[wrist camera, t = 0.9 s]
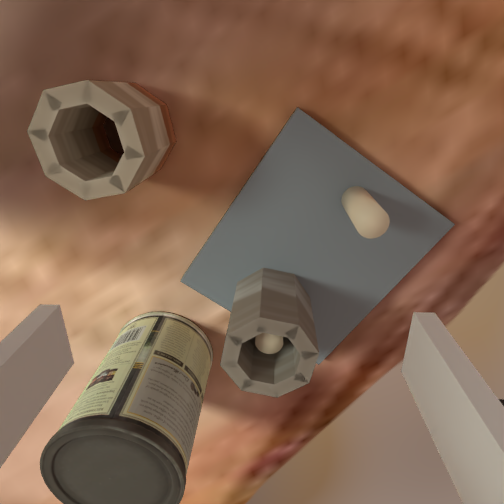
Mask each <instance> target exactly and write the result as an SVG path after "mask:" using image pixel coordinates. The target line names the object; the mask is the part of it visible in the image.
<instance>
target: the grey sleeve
mask: <svg viewBox="0 0 504 504" xmlns="http://www.w3.org/2000/svg"><path fill="white" fill-rule="evenodd" d="M261 333H267V334H272V335H277V336H282V337H283V347H282V348H281V350H280V351H278V352H277V353H274V354H266V353H263V352H261V351H260V350H258V348H257V347H256V344H255V338H256V336H257V335H259V334H261ZM318 356H319V349H318V343H317V337H316V331H315V325H314V319H313V313H312V307H311V301H310V297H309V295H308V294H307V292H306V291H305V289H304V288H303V286H302V285H301V283H300V282H299V280H298V279H297V278H296V276H295V275H294V274H292V273H287V272H283V271H278V270H273V269H268V268H264V267H263V268H261V269H260V270H258V271H256V272H254V273H253V274H251V275H249V276H247V277H246V278H244V279H242V280H240V281H238V282H237V286H236V291H235V295H234V300H233V305H232V310H231V314H230V319H229V324H228V329H227V334H226V339H225V344H224V349H223V354H222V358H221V363H220V366H221V367H222V368H223V369H224V370H225V372H226V373H227V374H228V375H229V376H230V378H231V379H232V380H233V381H234V382H235V384H236V385H237V386H238V387H239V388H240V389H241V390H242V391H247V392H252V393H257V394H262V395H267V396H272V397H280V396H282V395H284V394H286V393H288V392H291V391H293V390H295V389H297V388H299V387H302V386H304V385H306V384H308V383H309V382H310V379H311V376H312V373H313V370H314V367H315V364H316V362H317V359H318Z"/></svg>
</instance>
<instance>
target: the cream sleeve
mask: <svg viewBox="0 0 504 504" xmlns="http://www.w3.org/2000/svg"><path fill="white" fill-rule="evenodd" d="M107 117H108V118H110V119H111V120H113V121H114V122H115V125H116V128H117V131H118V134H119V137H120V141H121V144H122V147H123V150H124V153H123V155H121V154H119V153H118V152H116V151H115V150H113V149H112V148H111V147H110V144H109V141H108V138H107V135H106V132H105V129H104V126H103V125H104V123H105V120H106V118H107ZM27 132H28V135H29V137H30V139H31V142H32V144H33V147H34V149H35V152H36V154H37V157H38V159H39V162H40V164H41V166H42V169H43V171H44V174H45V176H46V177H48V178H49V179H51V180H52V181H54V182H56V183H57V184H59V185H61V186H62V187H64V188H65V189H67V190H69V191H70V192H72V193H74V194H75V195H77V196H79V197H80V198H82V199H83V200H90V199H96V198H101V197H107V196H112V195H117V194H123V193H126V192H127V191H129V190H130V189H132V188H133V187H135V186H136V185H138V184H139V183H141V182H142V181H144V180H145V179H147V178H148V177H150V176H151V175H153V174H154V173H156V172H157V171H159V170H160V169H161V167H162V166H163V164H164V162H165V160H166V159H167V157H168V155H169V153H170V151H171V150H172V148H173V146H174V144H175V143H176V138H175V134H174V130H173V126H172V122H171V119H170V115H169V111H168V107H167V105H166V104H165V103H164V102H162V101H161V100H159V99H158V98H156V97H155V96H153V95H152V94H151V93H149V92H148V91H146V90H145V89H143V88H142V87H140V86H139V85H138V84H136V83H128V82H113V81H98V80H84V81H80V82H76V83H71V84H67V85H63V86H58V87H54V88H50V89H45V90H43V92H42V95H41V97H40V100H39V103H38V105H37V108H36V110H35V113H34V115H33V118H32V120H31V123H30V125H29V128H28V130H27Z"/></svg>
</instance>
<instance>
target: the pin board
mask: <svg viewBox="0 0 504 504" xmlns="http://www.w3.org/2000/svg"><path fill="white" fill-rule="evenodd" d="M454 225H455V224H454V223H452V222H451V221H450V220H448V219H447V218H446V217H444V216H443V215H442V214H440V213H439V212H438V211H436V210H435V209H434V208H432V207H431V206H430V205H428V204H427V203H426V202H424V201H423V200H421V199H420V198H419V197H417V196H416V195H415V194H413V193H412V192H411V191H409V190H408V189H407V188H405V187H404V186H403V185H401V184H400V183H399V182H397V181H396V180H395V179H393V178H392V177H391V176H389V175H388V174H387V173H385V172H384V171H382V170H381V169H380V168H378V167H377V166H376V165H374V164H373V163H372V162H370V161H369V160H368V159H366V158H365V157H364V156H362V155H361V154H360V153H358V152H357V151H356V150H354V149H353V148H352V147H350V146H349V145H348V144H346V143H345V142H344V141H342V140H341V139H339V138H338V137H337V136H335V135H334V134H333V133H331V132H330V131H329V130H327V129H326V128H325V127H323V126H322V125H321V124H319V123H318V122H317V121H315V120H314V119H313V118H311V117H310V116H309V115H307V114H306V113H305V112H303V111H302V110H300V109H299V108H298V107H297V108H296V109H295V111H294V112H293V114H292V115H291V117H290V118H289V120H288V121H287V123H286V124H285V126H284V127H283V129H282V130H281V132H280V133H279V135H278V136H277V138H276V139H275V141H274V142H273V143H272V145H271V146H270V148H269V149H268V151H267V152H266V154H265V155H264V157H263V158H262V160H261V161H260V163H259V164H258V166H257V167H256V169H255V170H254V172H253V173H252V175H251V176H250V178H249V179H248V180H247V182H246V183H245V185H244V186H243V188H242V189H241V191H240V192H239V194H238V195H237V197H236V198H235V200H234V201H233V203H232V204H231V206H230V207H229V209H228V210H227V212H226V213H225V215H224V216H223V217H222V219H221V220H220V222H219V223H218V225H217V226H216V228H215V229H214V231H213V232H212V234H211V235H210V237H209V238H208V240H207V241H206V243H205V244H204V246H203V247H202V249H201V250H200V252H199V253H198V254H197V256H196V257H195V259H194V260H193V262H192V263H191V265H190V266H189V268H188V269H187V271H186V272H185V274H184V275H183V277H182V279H181V282H182V283H184V284H186V285H187V286H189V287H191V288H192V289H194V290H196V291H197V292H199V293H201V294H202V295H204V296H205V297H207V298H209V299H210V300H212V301H214V302H215V303H217V304H219V305H220V306H222V307H224V308H225V309H227V310H229V311H230V312H231V310H232V305H233V300H234V295H235V291H236V286H237V282H238V281H240V280H242V279H244V278H246V277H247V276H249V275H251V274H253V273H254V272H256V271H258V270H260V269H261V268H263V267H264V268H268V269H273V270H278V271H283V272H287V273H292V274H294V275H295V276H296V278H297V279H298V280H299V282H300V283H301V285H302V286H303V288H304V289H305V291H306V292H307V294H308V295H309V297H310V301H311V307H312V313H313V319H314V325H315V331H316V337H317V343H318V349H319V356H318V359H317V362H316V363H317V364H320V363H321V362H322V361H323V360H324V359H325V358H326V357H327V356H328V355H329V354H330V353H331V352H332V351H333V350H334V349H335V348H336V347H337V346H338V344H339V343H340V342H341V341H342V340H343V339H344V338H345V337H346V336H347V335H348V334H349V333H350V332H351V331H352V330H353V329H354V328H355V327H356V326H357V325H358V324H359V323H360V322H361V321H362V320H363V319H364V318H365V317H366V316H367V315H368V314H369V312H370V311H371V310H372V309H373V308H374V307H375V306H376V305H377V304H378V303H379V302H380V301H381V300H382V299H383V298H384V297H385V296H386V295H387V294H388V293H389V292H390V291H391V290H392V289H393V288H394V287H395V286H396V285H397V284H398V283H399V282H400V281H401V279H402V278H403V277H404V276H405V275H406V274H407V273H408V272H409V271H410V270H411V269H412V268H413V267H414V266H415V265H416V264H417V263H418V262H419V261H420V260H421V259H422V258H423V257H424V256H425V255H426V254H427V253H428V252H429V251H430V250H431V249H432V247H433V246H434V245H435V244H436V243H437V242H438V241H439V240H440V239H441V238H442V237H443V236H444V235H445V234H446V233H447V232H448V231H449V230H450V229H451V228H452V227H453V226H454ZM255 344H256V347H257V348H258V350H260V351H261V352H263V353H266V354H274V353H277V352H278V351H280V350H281V348H282V347H283V337H282V336H277V335H272V334H267V333H261V334H259V335H257V336H256V338H255Z"/></svg>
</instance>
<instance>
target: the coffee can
mask: <svg viewBox="0 0 504 504" xmlns="http://www.w3.org/2000/svg"><path fill="white" fill-rule="evenodd" d="M212 362H213V352H212V347H211V344H210V342H209V340H208V338H207V336H206V335H205V334H204V332H203V331H202V330H201V329H200V328H199V327H198V326H197V325H195V324H194V323H193V322H191V321H190V320H188V319H186V318H184V317H181V316H179V315H176V314H173V313H167V312H149V313H145V314H142V315H139V316H137V317H135V318H133V319H132V320H130V321H129V322H128V323H127V324H126V325H125V326H124V327H123V328H122V329H121V331H120V333H119V335H118V337H117V339H116V340H115V342H114V343H113V345H112V347H111V348H110V350H109V351H108V353H107V355H106V356H105V358H104V359H103V361H102V362H101V364H100V366H99V367H98V369H97V370H96V372H95V373H94V375H93V377H92V378H91V380H90V381H89V383H88V384H87V386H86V387H85V389H84V391H83V392H82V394H81V395H80V397H79V398H78V400H77V402H76V403H75V405H74V406H73V408H72V410H71V411H70V413H69V414H68V416H67V418H66V419H65V421H64V422H63V424H62V425H61V427H60V429H59V430H58V432H57V433H56V434H55V435H54V436H53V437H52V438H51V439H50V440H49V442H48V443H47V445H46V446H45V448H44V450H43V452H42V455H41V459H40V470H41V474H42V477H43V479H44V482H45V483H46V485H47V486H48V488H49V489H50V491H51V492H52V493H53V494H54V495H55V497H56V498H57V499H59V500H60V501H61V502H62V503H63V504H179V503H180V501H181V500H182V497H183V494H184V490H185V484H186V473H187V469H188V465H189V460H190V456H191V451H192V447H193V443H194V438H195V434H196V429H197V425H198V420H199V416H200V412H201V407H202V403H203V398H204V394H205V390H206V385H207V381H208V376H209V372H210V369H211V366H212Z"/></svg>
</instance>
